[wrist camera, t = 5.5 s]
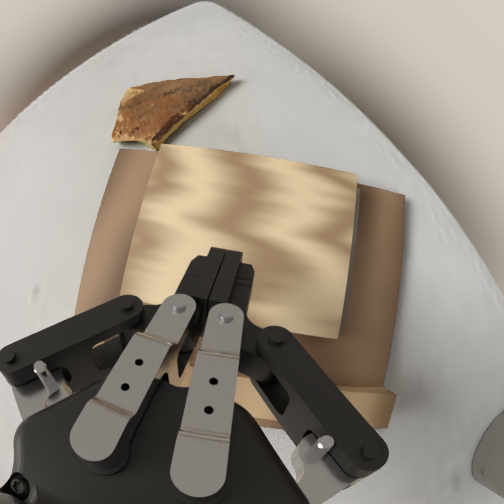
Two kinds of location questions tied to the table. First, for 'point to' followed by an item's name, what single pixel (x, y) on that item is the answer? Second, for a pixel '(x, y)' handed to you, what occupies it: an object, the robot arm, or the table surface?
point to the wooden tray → (320, 348)
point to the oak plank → (248, 232)
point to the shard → (163, 108)
